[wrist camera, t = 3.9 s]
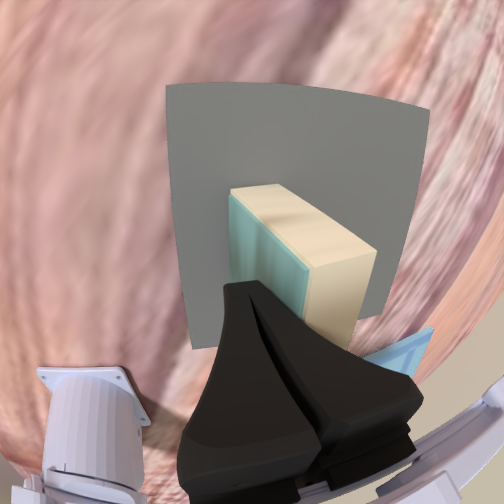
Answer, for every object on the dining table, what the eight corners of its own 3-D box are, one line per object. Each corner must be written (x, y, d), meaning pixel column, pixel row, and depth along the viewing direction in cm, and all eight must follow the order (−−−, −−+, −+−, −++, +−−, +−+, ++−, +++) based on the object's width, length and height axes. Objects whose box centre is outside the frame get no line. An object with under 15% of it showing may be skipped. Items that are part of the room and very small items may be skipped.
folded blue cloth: (401, 385, 35) (405, 391, 34) (325, 419, 33) (329, 426, 32) (427, 322, 27) (434, 330, 26) (333, 364, 26) (338, 374, 25)
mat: (378, 310, 23) (381, 313, 22) (191, 344, 19) (192, 349, 19) (424, 108, 14) (430, 110, 14) (166, 85, 11) (165, 85, 11)
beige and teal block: (271, 281, 18) (340, 367, 12) (229, 291, 17) (287, 389, 11) (278, 183, 14) (377, 251, 9) (226, 189, 14) (309, 268, 8)
